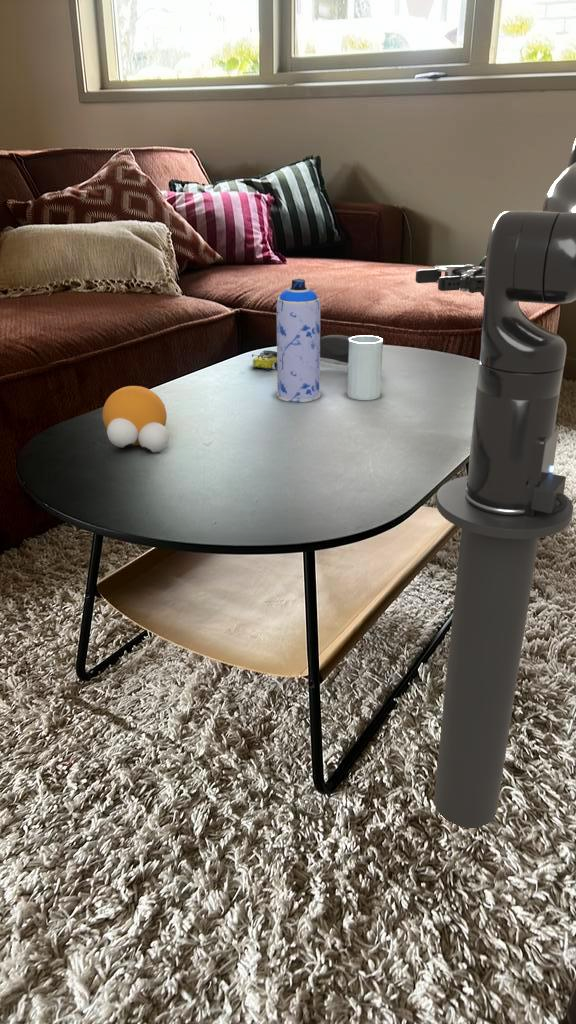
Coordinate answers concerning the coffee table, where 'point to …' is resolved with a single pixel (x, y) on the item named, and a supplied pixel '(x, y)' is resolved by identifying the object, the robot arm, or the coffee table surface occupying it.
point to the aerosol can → (298, 344)
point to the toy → (136, 419)
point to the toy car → (265, 360)
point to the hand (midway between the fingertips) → (427, 280)
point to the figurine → (334, 349)
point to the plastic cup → (364, 367)
